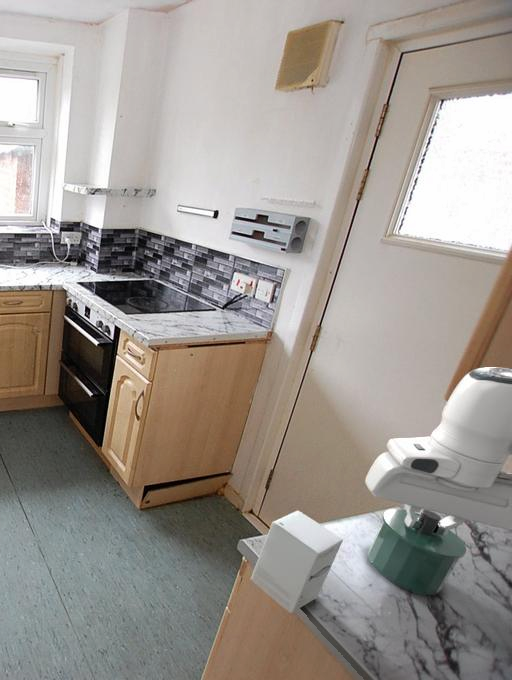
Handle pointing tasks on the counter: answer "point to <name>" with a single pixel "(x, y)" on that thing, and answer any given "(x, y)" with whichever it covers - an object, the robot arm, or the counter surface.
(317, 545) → the white packaging box
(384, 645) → the counter surface
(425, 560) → the tin
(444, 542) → the lid
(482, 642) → the counter surface
